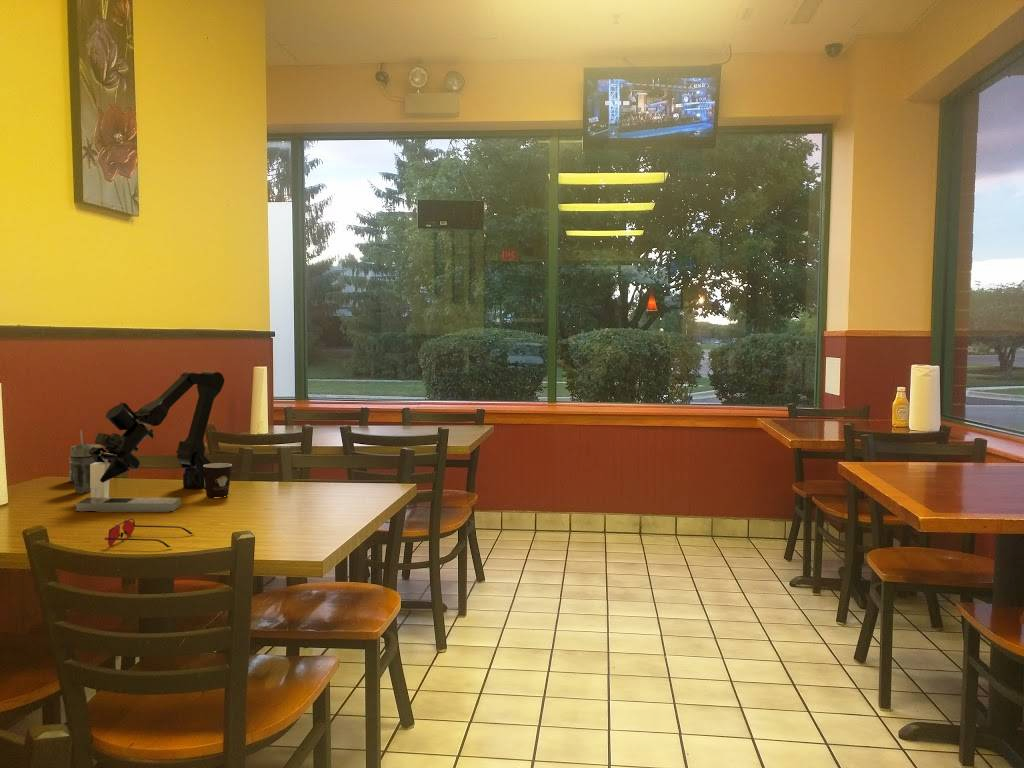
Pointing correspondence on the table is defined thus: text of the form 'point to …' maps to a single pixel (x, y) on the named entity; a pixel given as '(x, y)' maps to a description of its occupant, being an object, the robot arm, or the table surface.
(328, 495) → the table surface
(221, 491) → the coffee mug
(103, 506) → the rail
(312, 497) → the table surface
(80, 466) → the beverage cup
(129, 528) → the glasses
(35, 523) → the table surface
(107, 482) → the clip
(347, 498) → the table surface
